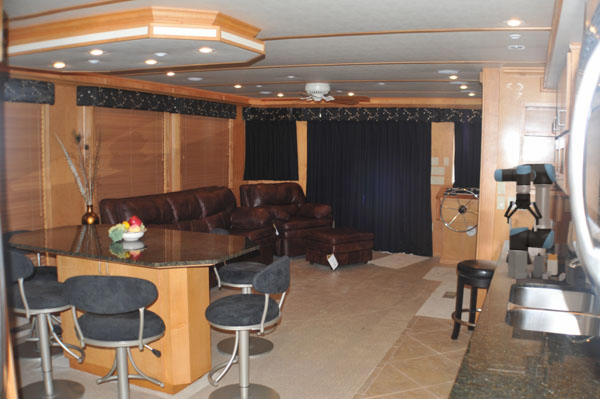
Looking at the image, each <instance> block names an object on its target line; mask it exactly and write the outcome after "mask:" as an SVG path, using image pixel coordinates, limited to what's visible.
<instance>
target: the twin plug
mask: <svg viewBox="0 0 600 399" xmlns="http://www.w3.org/2000/svg"><path fill="white" fill-rule="evenodd" d="M541 254H542V253H541V252H538V253H537V254H535V255H534V257H533V259H534V261H533V270H534V277H537V278H536V279H538V278H542V277H543V273H544V272H545V256H544V255H541Z"/></svg>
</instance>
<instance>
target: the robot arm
mask: <svg viewBox="0 0 600 399" xmlns="http://www.w3.org/2000/svg"><path fill="white" fill-rule="evenodd" d="M493 177H494V181H495V182H499V183H504V182H505V183H513V182H514V183H515V184H516V185H515V189H516V190H515V191H516V193H515V201H514V200H510V202H509V205H508V207H507V209H506V211H505V213H504V214H503V217H504V218H506V219H507V221H506V223H507V224H508V231H509V235H508V236H509V238H508V240H509V241H508V243H509V244H508V245H509V246H508V247H509V249H508V251H509V250H521V251H527V265H531V264H532V259H531V255H530V253H529V248H533V249H543V250H544V249H552V247H553V245H554V242H555V231H554V230H553V227H552V226H550V210H551V209H550V207H551V206H550V205H551V204H550V203H551V187H553V185H554V183H555V182H556V181H557V173H556V169H555V166H554V165H553V164H552V163H525V164H519V165H516V166H513V167H510V168H496V169H495V170H494V174H493ZM531 183H532V184H531ZM531 185H533V186H534V188H535V190H534V191H535V193H534V201H531V190H532V189H531ZM531 205H532V207H533V208H534V210H533V209H532V207H531ZM513 206H515V207H514V208H513ZM512 208H513V210H512ZM511 210H512V211H511ZM518 210H527V211H528V212H529V213H530V214H531V215H532V216H533V218H534V219H533V225H532V227H531V229H530V228H529V227H528V226H518V227H513V226H512V225H513V224H512V223H513V220H512V217H513V215H514V214H515V213H516V212H517V211H518ZM510 211H511V212H510ZM505 260H506V261H505V262H506V263H507V264H508V254H507V255H506V259H505Z"/></svg>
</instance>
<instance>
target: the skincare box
mask: <svg viewBox="0 0 600 399" xmlns="http://www.w3.org/2000/svg"><path fill="white" fill-rule="evenodd" d="M507 255H508V263H507V265H508V266H507V268H508V269H507V272H508V273H507V275H508V276H507V277H508V278H509V279H510V278H511V279H514V280H523V279H528V264H527V251H521V250H509V249H508V253H507Z"/></svg>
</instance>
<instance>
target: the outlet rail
mask: <svg viewBox="0 0 600 399" xmlns="http://www.w3.org/2000/svg"><path fill="white" fill-rule="evenodd" d="M528 278H530V279H538V280H539V279H540V280H546V281H547V280H549V281H558V282H563V281H564V280H565V279H566V273H565V272H562V273H560V275H559V276H558V277H556V276H555V277H554V276H552V275H551V272H550V271H547V270H546V271H544V273H543V277H542V278H537V277H534V269H532V270H530V271H528Z"/></svg>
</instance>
